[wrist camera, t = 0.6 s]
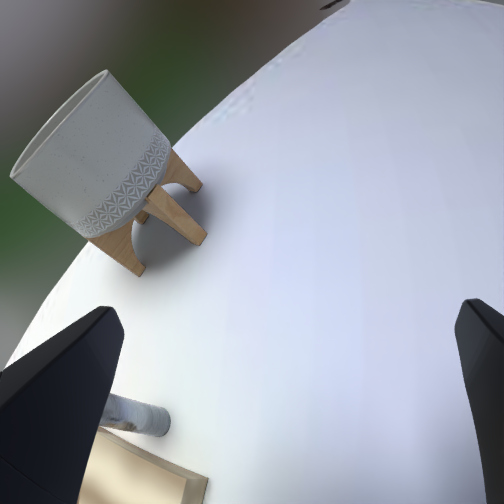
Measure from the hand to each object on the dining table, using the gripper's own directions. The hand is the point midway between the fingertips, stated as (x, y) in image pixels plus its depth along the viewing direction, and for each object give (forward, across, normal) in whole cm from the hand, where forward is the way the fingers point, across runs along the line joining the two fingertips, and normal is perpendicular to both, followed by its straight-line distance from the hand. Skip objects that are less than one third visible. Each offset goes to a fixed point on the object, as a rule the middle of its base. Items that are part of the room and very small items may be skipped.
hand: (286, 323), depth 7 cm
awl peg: (+6, +11, +18) cm, 22 cm away
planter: (+26, +14, +10) cm, 31 cm away
